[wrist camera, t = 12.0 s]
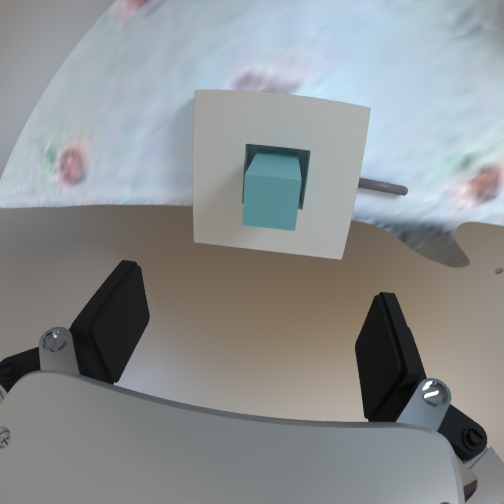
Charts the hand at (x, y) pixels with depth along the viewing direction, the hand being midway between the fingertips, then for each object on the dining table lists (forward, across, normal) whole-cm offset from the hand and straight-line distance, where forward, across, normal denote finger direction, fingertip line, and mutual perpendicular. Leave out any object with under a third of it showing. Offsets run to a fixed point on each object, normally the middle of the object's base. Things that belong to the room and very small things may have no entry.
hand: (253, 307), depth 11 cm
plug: (+22, 0, 0) cm, 22 cm away
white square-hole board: (+22, -3, 0) cm, 22 cm away
